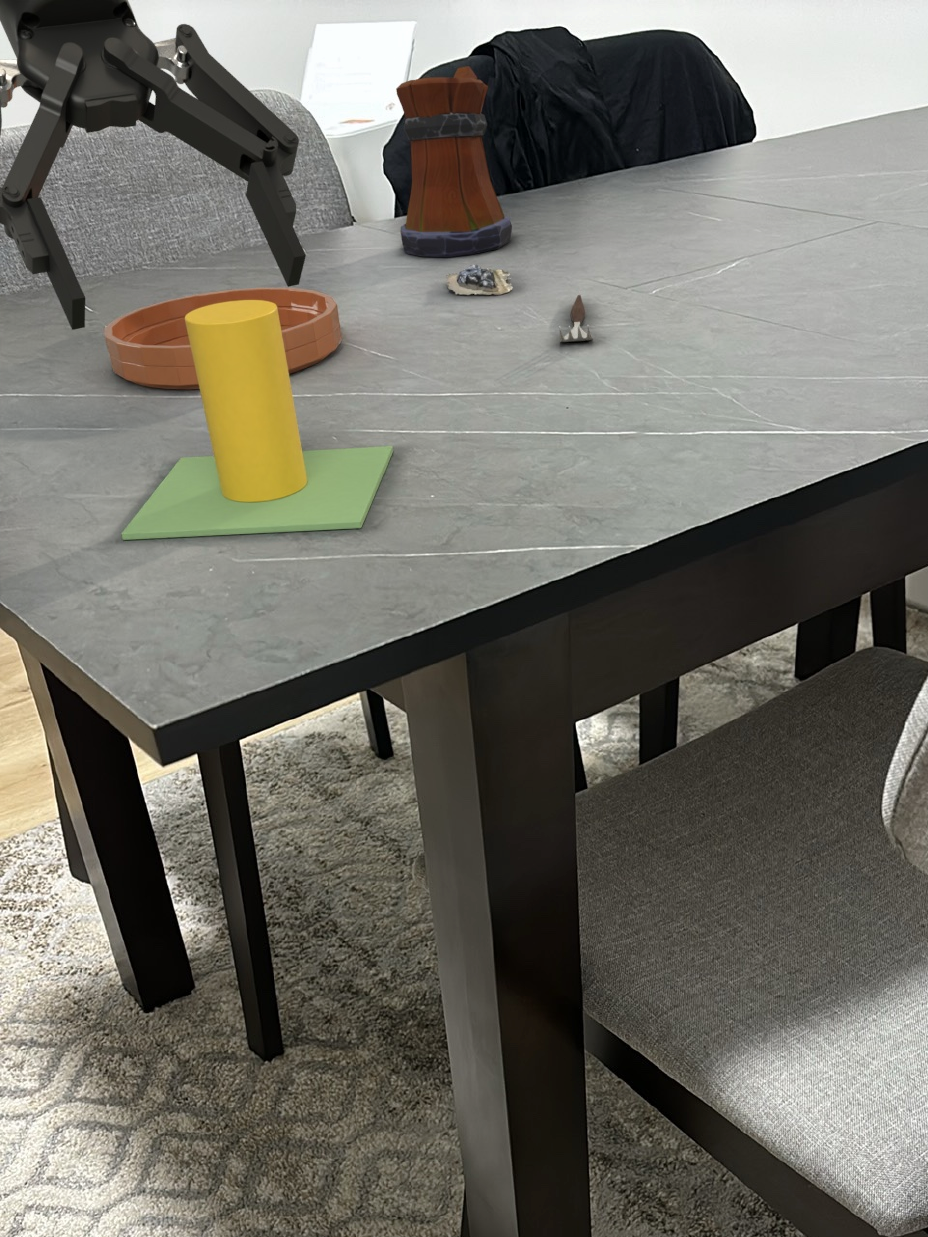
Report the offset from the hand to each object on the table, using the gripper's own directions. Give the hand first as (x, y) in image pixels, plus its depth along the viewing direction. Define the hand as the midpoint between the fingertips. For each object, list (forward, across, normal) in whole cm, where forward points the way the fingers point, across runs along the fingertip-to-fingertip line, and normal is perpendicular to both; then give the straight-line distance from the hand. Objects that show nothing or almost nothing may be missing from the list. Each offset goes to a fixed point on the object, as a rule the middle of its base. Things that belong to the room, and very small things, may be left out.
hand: (191, 292), depth 79 cm
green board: (+12, 0, -3) cm, 12 cm away
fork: (-2, -35, -17) cm, 39 cm away
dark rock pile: (-14, -37, -30) cm, 49 cm away
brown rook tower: (-29, -46, -44) cm, 70 cm away
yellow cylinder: (+11, 0, -3) cm, 12 cm away
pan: (-11, -10, -26) cm, 30 cm away
